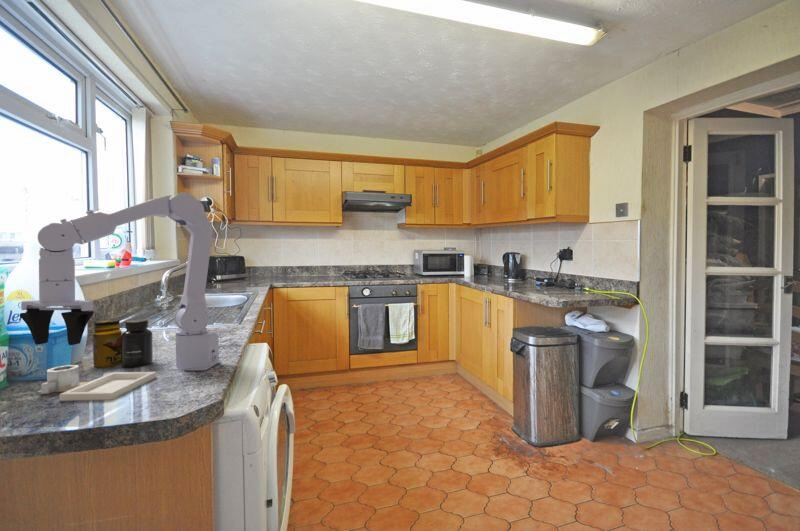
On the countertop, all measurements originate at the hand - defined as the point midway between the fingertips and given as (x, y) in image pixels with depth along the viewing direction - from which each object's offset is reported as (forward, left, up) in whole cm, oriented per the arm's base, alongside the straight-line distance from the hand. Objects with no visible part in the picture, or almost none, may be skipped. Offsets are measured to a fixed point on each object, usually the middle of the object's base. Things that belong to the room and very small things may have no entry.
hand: (58, 343), depth 82 cm
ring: (-1, -1, -9) cm, 9 cm away
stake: (-1, -1, -10) cm, 10 cm away
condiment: (+4, -18, -10) cm, 21 cm away
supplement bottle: (-5, -18, -10) cm, 21 cm away
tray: (-12, +1, -10) cm, 16 cm away
